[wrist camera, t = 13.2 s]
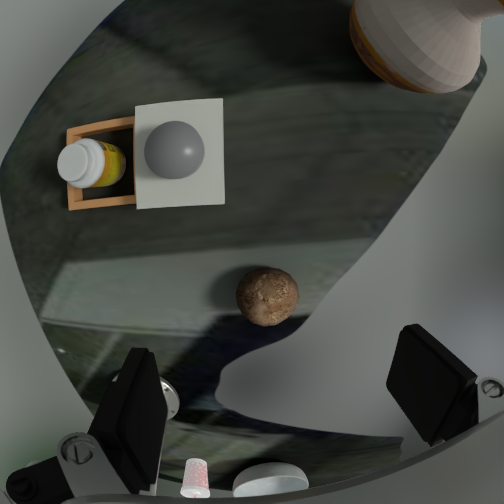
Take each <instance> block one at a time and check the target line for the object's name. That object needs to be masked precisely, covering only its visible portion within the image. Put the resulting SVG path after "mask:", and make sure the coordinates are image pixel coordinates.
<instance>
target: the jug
mask: <svg viewBox="0 0 504 504" xmlns="http://www.w3.org/2000/svg"><path fill="white" fill-rule="evenodd" d="M498 14H504V0H354V1H353V4H352V7H351V11H350V22H349V29H350V36H351V40H352V42H353V45H354V47H355V49H356V51H357V53H358V55H359V57H360V58H361V60H362V61H363V62H364V64H365V65H366V66H367V67H368V68H369V69H370V70H371V71H372V72H373V73H375V74H376V75H377V76H379V77H380V78H381V79H383V80H384V81H386V82H387V83H389V84H391V85H393V86H395V87H398V88H401V89H404V90H409V91H413V92H418V93H436V94H440V93H446V92H452V91H456V90H458V89H459V88H461V87H463V86H464V85H466V84H468V83H469V82H470V81H471V80H472V78H473V76H474V74H475V72H476V71H477V69H478V66H479V63H480V30H481V27H480V26H481V21H482V20H484V19H485V18H488V17H491V16H495V15H498Z"/></svg>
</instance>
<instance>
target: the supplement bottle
mask: <svg viewBox="0 0 504 504" xmlns="http://www.w3.org/2000/svg"><path fill="white" fill-rule="evenodd" d="M57 167H58V172H59V174H60V176H61V177H62V178H63V179H64V180H66V181H67V182H68V183H69V184H70V185H72V186H73V187H76V188H90V187H101V186H110V185H113V184H115V183H116V182H118V181H119V180H120V179H121V177H122V176H123V174H124V172H125V169H126V158H125V155H124V153H123V152H122V150H121V149H120V148H118V147H117V146H114V145H111V144H107V143H104V142H100V141H97V140H93V139H87V138H85V139H80V140H78V141H76V142H74V143H73V144H70V145H68V146H66V147H65V148H64V149H63V150H62V151H61V153H60V155H59V158H58V163H57Z"/></svg>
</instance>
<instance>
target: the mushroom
mask: <svg viewBox="0 0 504 504" xmlns="http://www.w3.org/2000/svg"><path fill="white" fill-rule="evenodd" d="M236 298H237V305H238V307H239V309H240V311H241V313H242V314H243V316H244V317H246V318H247V319H248V320H249V321H251V322H252V323H255V324H258V325H261V326H269V325H276V324H278V323H280V322H281V321H283V320H285V319H287V318H288V317H289V315H290V314H291V313H292V312H293V311H294V310H295V308H296V305H297V302H298V299H299V292H298V287H297V283H296V282H295V281H294V279H293V278H292V277H291V276H290V274H288V273H286V272H284V271H283V270H281V269H276V268H264V269H259V270H256V271H253V272H250V273H248V274H247V275H246V276H245V277H244V278H243V279H242V280H241V281H240V282H239V285H238V289H237V292H236Z"/></svg>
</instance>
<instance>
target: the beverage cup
mask: <svg viewBox="0 0 504 504" xmlns="http://www.w3.org/2000/svg"><path fill="white" fill-rule="evenodd" d="M180 493H181V494H182V495H183V496H185V497H187V498H208V497H209V496H210V491H209V489H208V475H207V464H206V462H205V461H204V460H201V459H197V458H192V459H189V460H187V462H186V467H185V474H184V480H183V486H182V488H181V492H180Z"/></svg>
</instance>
